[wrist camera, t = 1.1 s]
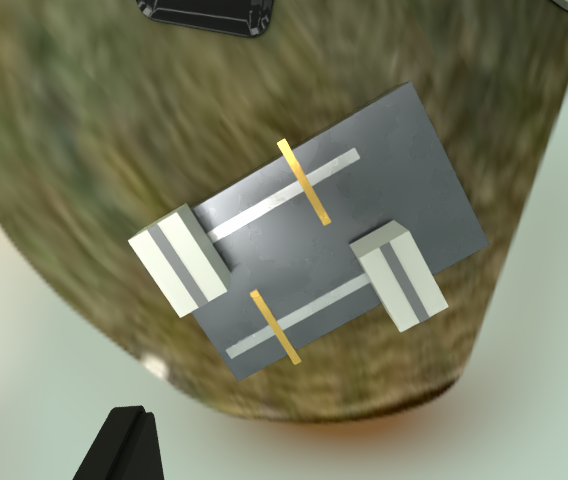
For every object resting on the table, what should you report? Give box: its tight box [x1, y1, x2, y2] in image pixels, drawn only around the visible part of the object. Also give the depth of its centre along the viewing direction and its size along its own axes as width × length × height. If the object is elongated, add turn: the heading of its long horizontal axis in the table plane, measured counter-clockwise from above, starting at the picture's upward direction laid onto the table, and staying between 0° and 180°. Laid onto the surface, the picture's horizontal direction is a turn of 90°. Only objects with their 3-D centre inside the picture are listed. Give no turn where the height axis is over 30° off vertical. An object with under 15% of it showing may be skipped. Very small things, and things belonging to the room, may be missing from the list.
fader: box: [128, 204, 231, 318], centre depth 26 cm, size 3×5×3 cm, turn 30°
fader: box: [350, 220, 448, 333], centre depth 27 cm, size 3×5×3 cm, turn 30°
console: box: [189, 81, 490, 382], centre depth 30 cm, size 18×13×3 cm
